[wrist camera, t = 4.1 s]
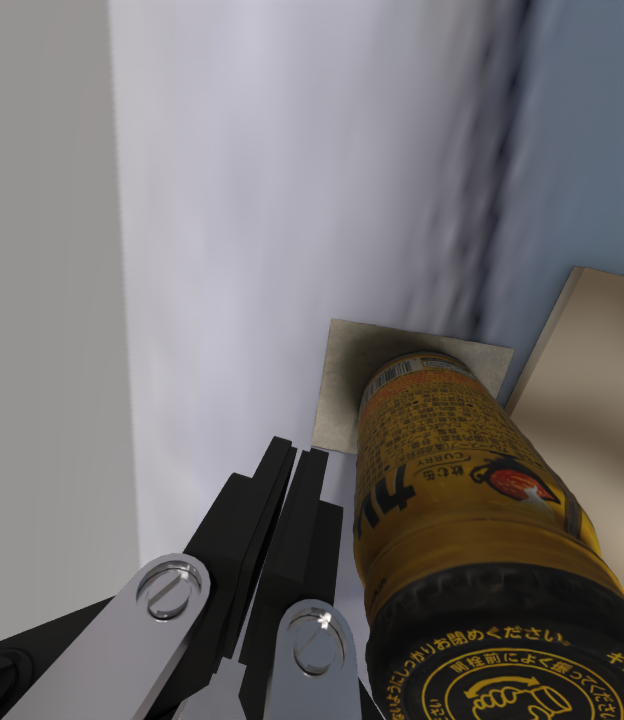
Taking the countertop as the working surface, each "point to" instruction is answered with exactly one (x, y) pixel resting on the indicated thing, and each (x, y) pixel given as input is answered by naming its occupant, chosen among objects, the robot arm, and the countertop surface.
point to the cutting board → (581, 401)
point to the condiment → (465, 539)
